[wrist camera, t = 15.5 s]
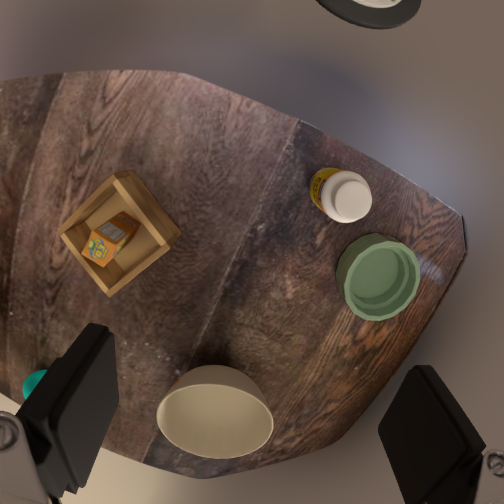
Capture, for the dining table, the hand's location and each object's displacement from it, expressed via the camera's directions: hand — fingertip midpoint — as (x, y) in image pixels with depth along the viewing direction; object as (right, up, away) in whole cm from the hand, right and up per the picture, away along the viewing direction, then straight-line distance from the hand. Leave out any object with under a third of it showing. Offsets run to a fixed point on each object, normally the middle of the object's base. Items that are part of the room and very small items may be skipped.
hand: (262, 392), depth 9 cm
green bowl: (+17, +2, +34) cm, 38 cm away
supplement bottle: (+9, +12, +31) cm, 35 cm away
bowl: (-6, -16, +40) cm, 43 cm away
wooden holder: (-17, +8, +32) cm, 37 cm away
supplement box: (-17, +7, +31) cm, 36 cm away
